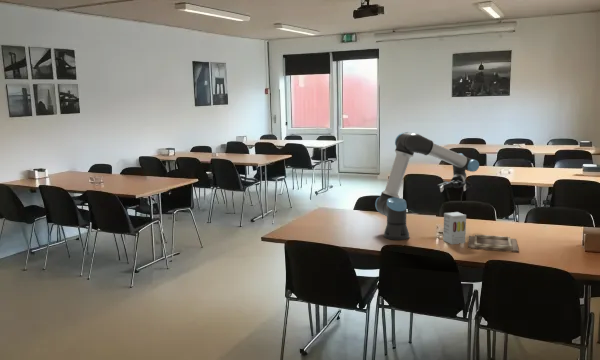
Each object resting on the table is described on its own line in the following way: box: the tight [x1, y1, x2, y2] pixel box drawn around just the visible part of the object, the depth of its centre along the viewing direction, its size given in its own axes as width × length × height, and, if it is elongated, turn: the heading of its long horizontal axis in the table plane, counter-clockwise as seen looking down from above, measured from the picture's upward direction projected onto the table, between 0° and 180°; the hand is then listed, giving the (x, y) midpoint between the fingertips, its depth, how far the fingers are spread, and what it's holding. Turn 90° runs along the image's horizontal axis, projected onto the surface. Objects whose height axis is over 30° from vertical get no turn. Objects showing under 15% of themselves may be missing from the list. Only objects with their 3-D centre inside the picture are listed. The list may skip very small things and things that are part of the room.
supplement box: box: [442, 211, 467, 245], centre depth 297 cm, size 10×9×17 cm
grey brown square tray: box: [467, 234, 519, 253], centre depth 291 cm, size 26×24×2 cm
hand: (452, 189), depth 305 cm, fingers open, 13 cm apart
